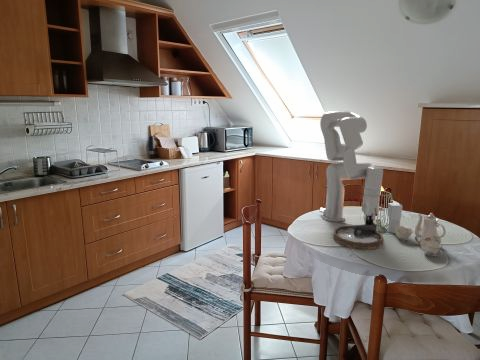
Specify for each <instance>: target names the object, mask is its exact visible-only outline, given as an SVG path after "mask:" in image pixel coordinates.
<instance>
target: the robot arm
mask: <svg viewBox="0 0 480 360" xmlns="http://www.w3.org/2000/svg"><path fill="white" fill-rule="evenodd" d="M319 125H320V130H321V133H322V136H323V141H324V148H325V154H326V155H325V156H326V159H327V160H328V161H329V162H337V163H331V164H329V165H328V166H327V168H326V170H325V171H326V172H325V173H326V199H325V207H324V208H323V207H320V208H319V213H322V215H321V217H322V219H323V220H325V221H328V222H331V223H332V222H334V223H340V222H343V221H346V216H345V215H343V211H344V204H345V203H344V200H345V186H344V184H343V182H342V181H348V180H362V179H365V180H364V181H365V182H364V189H363V191H364V192H363V198H362V199H363V200H362V203H361V212H363V214H364V215H365V223H364V224H373V223H374V222H375V221H374V220H376V218H375V216H378V212H379V196H380V195H381V186H382V185H383V184H382V183H383V175H384V169H383V168H382V167H381V166H377V165H376V166H375V165H374V164H372V163H370V162H369V163H368V162H363V163H357V157H356V152H355V151H356V150H358V149H360V148H361V147H362V146H363V144H364V141H363V138H362V135H361V133H364V132H366V130H367V128H368V125H367V120H366V119H365V118H364V117H363V116H361V115H359V114H357V113H355V112H352V111H347V110H346V111H345V110H344V111H343V110H342V111H341V110H340V111H338V110H337V111H336V110H335V111H327V112H325V113H323V114H322V116H321V117H320V122H319ZM336 128H339V129H340V133H341V136H342V139H343V142H344V143H342V142H341V137H340V134H339V132H338V131H337V129H336ZM382 187H383V186H382Z"/></svg>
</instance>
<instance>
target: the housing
mask: <svg viewBox="0 0 480 360" xmlns="http://www.w3.org/2000/svg"><path fill="white" fill-rule="evenodd" d="M344 228H354V225H342V226H339V227H336V228H334V229H333V235H332V239H333V242H335V243H337V244H339V245H341V246H343V247H345V248H350V249H354V250H360V251H372V250H373V251H374V250H378V249H379V248H381V247H383V246H384V239H385V238H384V236H383V234H382V233H381V232H379V231H377V230H376V234H377V235H378V236H379V237H380V239H378V241H377V242H370V243H362V242H353V241H350V240H346V239H343V238H341V237H340V236H338V235H337V232H338V231H339V230H341V229H344Z"/></svg>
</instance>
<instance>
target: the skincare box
mask: <svg viewBox="0 0 480 360" xmlns="http://www.w3.org/2000/svg"><path fill="white" fill-rule="evenodd" d="M392 201H393V203H388V216H389V224H388V230H387V231H386V232H387V233H396V231H395V229H394V227H397V228H398V227H400V223H401V218H402V213H403V205H402V204H401V203H399V202H397V201H395V200H392Z"/></svg>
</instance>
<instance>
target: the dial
mask: <svg viewBox="0 0 480 360" xmlns="http://www.w3.org/2000/svg"><path fill="white" fill-rule="evenodd" d="M377 225H378V223H377V222H375V221H373V224H365V223H364V224H355V225H353V226H354V228H344V229H341V230H339V231H338V232H337V235H338V236H340V237H341V238H343V239H346V240H350V241H353V242H362V243H370V242H377V241H378V239H380V237H379V236H378V235H377V234H376V231H377Z"/></svg>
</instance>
